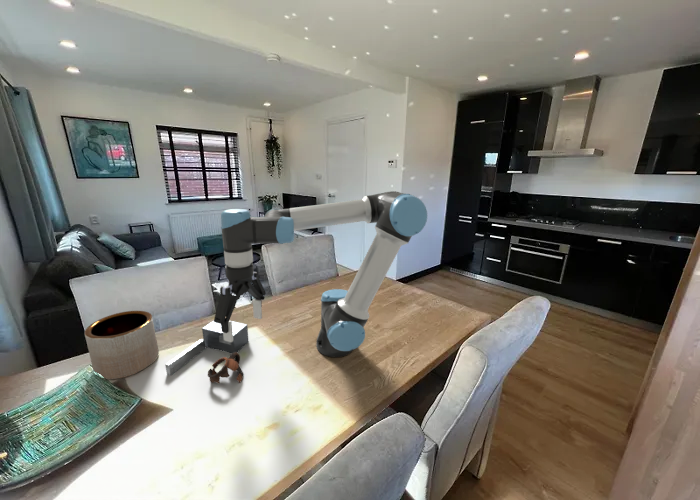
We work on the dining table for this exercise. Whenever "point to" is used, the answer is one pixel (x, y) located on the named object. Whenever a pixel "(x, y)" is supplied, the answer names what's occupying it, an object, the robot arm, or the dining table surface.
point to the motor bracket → (211, 344)
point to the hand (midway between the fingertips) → (244, 328)
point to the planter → (122, 344)
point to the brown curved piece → (226, 368)
